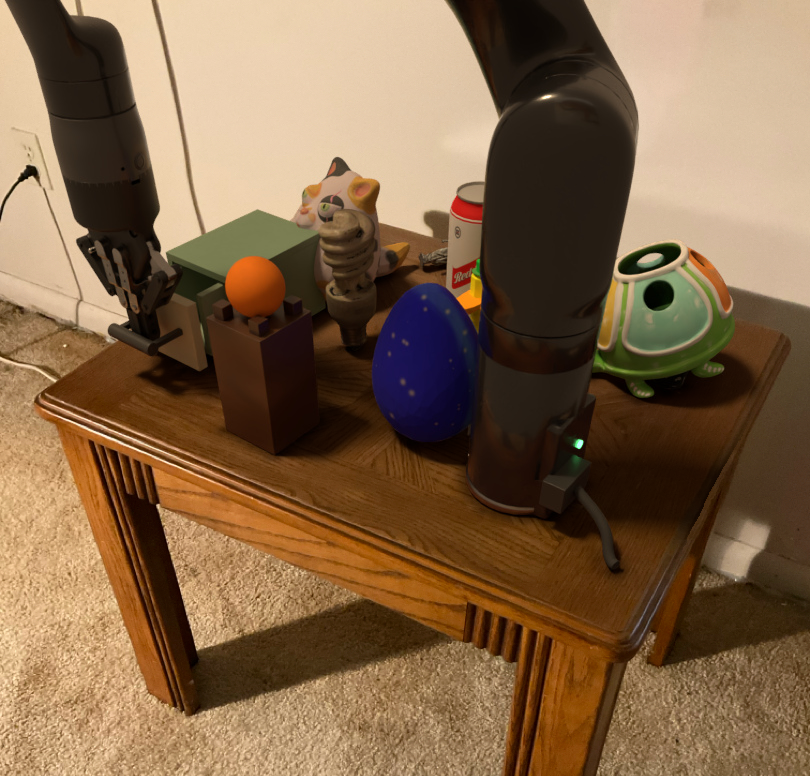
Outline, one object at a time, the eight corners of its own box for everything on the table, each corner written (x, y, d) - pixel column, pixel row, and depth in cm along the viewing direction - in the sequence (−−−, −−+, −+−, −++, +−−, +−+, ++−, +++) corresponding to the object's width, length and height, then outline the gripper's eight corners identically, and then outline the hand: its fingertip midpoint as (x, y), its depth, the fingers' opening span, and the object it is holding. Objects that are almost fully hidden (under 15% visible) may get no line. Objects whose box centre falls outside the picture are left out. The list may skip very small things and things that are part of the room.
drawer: (164, 392, 81) (148, 327, 76) (109, 363, 85) (91, 299, 80) (283, 322, 91) (276, 260, 86) (229, 299, 95) (220, 238, 90)
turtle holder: (557, 361, 93) (528, 268, 85) (723, 309, 88) (707, 206, 80) (568, 426, 84) (536, 329, 77) (753, 373, 79) (738, 264, 71)
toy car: (678, 394, 83) (683, 377, 82) (645, 385, 84) (649, 367, 83) (698, 357, 88) (703, 340, 87) (667, 348, 89) (671, 331, 88)
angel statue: (473, 246, 106) (480, 274, 105) (413, 252, 104) (420, 281, 103) (480, 227, 102) (487, 256, 101) (417, 233, 101) (424, 263, 100)
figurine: (250, 268, 96) (288, 137, 89) (359, 287, 108) (401, 173, 101) (304, 314, 90) (350, 177, 83) (414, 329, 102) (462, 210, 95)
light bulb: (354, 368, 86) (349, 229, 76) (315, 350, 89) (305, 213, 78) (387, 345, 90) (386, 209, 79) (349, 329, 92) (343, 195, 81)
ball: (300, 311, 71) (295, 256, 68) (259, 335, 68) (252, 279, 65) (258, 294, 73) (251, 240, 70) (217, 316, 70) (208, 261, 67)
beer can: (501, 352, 89) (517, 205, 78) (443, 351, 89) (451, 204, 78) (498, 322, 93) (512, 179, 82) (443, 321, 93) (449, 178, 82)
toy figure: (462, 391, 84) (470, 282, 75) (435, 378, 85) (440, 269, 77) (502, 365, 87) (514, 257, 79) (476, 352, 89) (485, 246, 80)
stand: (320, 422, 80) (310, 298, 70) (274, 455, 76) (257, 329, 67) (272, 399, 82) (256, 276, 73) (226, 429, 79) (203, 304, 69)
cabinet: (242, 358, 88) (230, 279, 81) (181, 329, 92) (165, 251, 85) (326, 308, 95) (321, 231, 89) (266, 283, 99) (257, 209, 93)
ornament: (499, 437, 78) (516, 293, 68) (428, 478, 74) (434, 330, 63) (422, 387, 84) (426, 247, 73) (352, 422, 80) (345, 278, 69)
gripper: (21, 156, 71) (76, 333, 83) (119, 195, 65) (163, 379, 78) (92, 133, 75) (134, 304, 87) (191, 167, 70) (221, 346, 82)
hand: (148, 339), depth 82 cm, fingers closed
